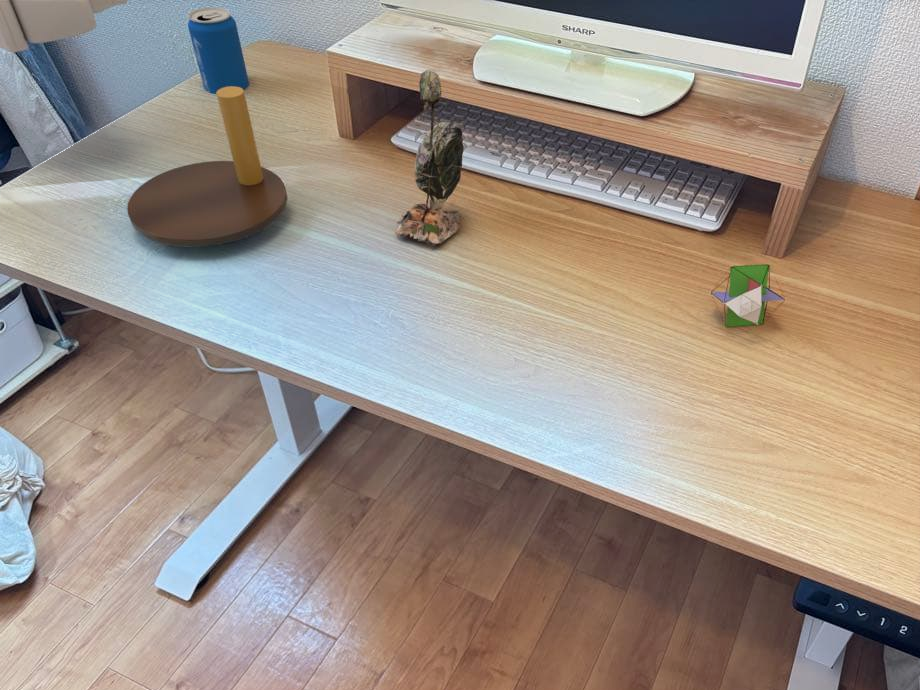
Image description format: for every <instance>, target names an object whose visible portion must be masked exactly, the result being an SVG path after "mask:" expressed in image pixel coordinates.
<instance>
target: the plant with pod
mask: <svg viewBox="0 0 920 690" xmlns="http://www.w3.org/2000/svg"><path fill="white" fill-rule="evenodd" d="M418 86H419V87H418V88H419V99H420V100H421V101H422V102H423V103H424V104H423V105H424V106H423V107H422V108H423V114H424V115H426V114H427V110H428V109H427V108H428V107H429V106H430V129H429V130H428V132H427V133H426V134H425V136H424V137H423V138H422V140H421V142H420V143H419V145H418V148H417V153H416V154H415V157H414V176H415V178H414V181H415V184H416V186H417V188H418V189H419V190H420V191H421V192H423V193H425V194H426V201H425V202H426V203H418V204H414V205H413V206H412V207H410V208H409V210H407V211H404V212H403V213H402V214H400V219H399V220H398V221H397V222H396V224H397V225H398V226H396V229H395V232H394V234H395V235H396V236H397V237H403V236H404V237H406V236H407V235H409V237H410V239H411V238H412V237H413V240H417V242H422V243H425V244H426V246H427V245H428V246H429V247H434V246H439V245H440V244H442V243H443V242H446V240H448V239H449V238H450V237H451V236H452V235H454V234H455V233H457V232H458V231H459V230H460V229H461V227H460V225H461V223H460V218H461V216H460V213H459V210H456V211H455V209H454V210H451V211H449V210H448V211H447V210H444V209H443V206H444V205H445V203H446V202H447V200H448V199H449V197H450V196H451V195H452V194H453V192H454V191H455V190H456V188H457V186H458V184H459V183H460V182H461V177H462V175H461V174H462V168H463V155H464V149H465V148H464V144H463V143H464V140H463V130H462V127H461V126H460V125H458V124H456V123H455V122H447V121H440V122H438V123H436V125H434V123H435V110H436V109H435V104H439V103H440V101H441V99H442V92H443V91H442V85H441V79H440V75H439V74H438V73H437V72H435V71H433V70H430V69H426V70H425V71H422V73H421V74H420V79H419V81H418ZM461 124H465V121H463V120H461ZM429 198H430V199H429Z"/></svg>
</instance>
